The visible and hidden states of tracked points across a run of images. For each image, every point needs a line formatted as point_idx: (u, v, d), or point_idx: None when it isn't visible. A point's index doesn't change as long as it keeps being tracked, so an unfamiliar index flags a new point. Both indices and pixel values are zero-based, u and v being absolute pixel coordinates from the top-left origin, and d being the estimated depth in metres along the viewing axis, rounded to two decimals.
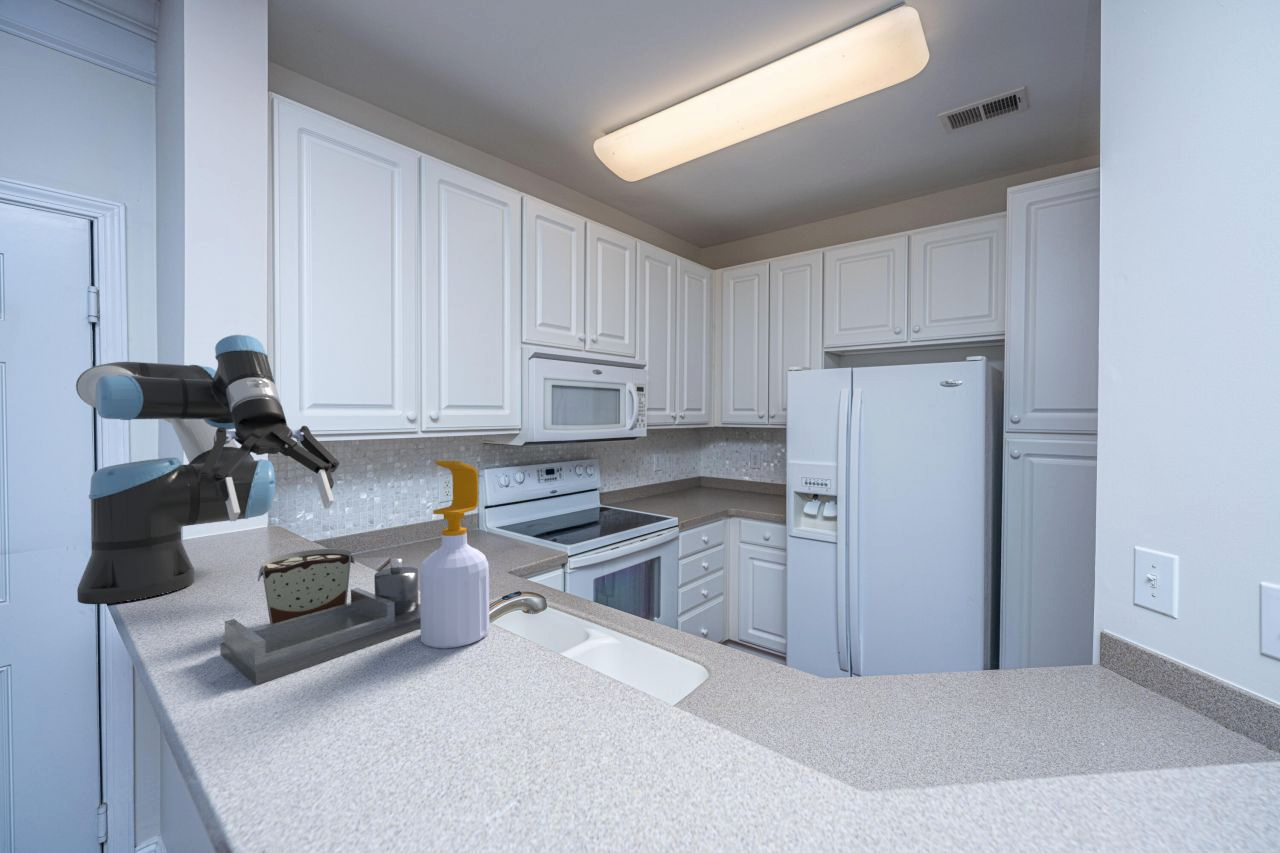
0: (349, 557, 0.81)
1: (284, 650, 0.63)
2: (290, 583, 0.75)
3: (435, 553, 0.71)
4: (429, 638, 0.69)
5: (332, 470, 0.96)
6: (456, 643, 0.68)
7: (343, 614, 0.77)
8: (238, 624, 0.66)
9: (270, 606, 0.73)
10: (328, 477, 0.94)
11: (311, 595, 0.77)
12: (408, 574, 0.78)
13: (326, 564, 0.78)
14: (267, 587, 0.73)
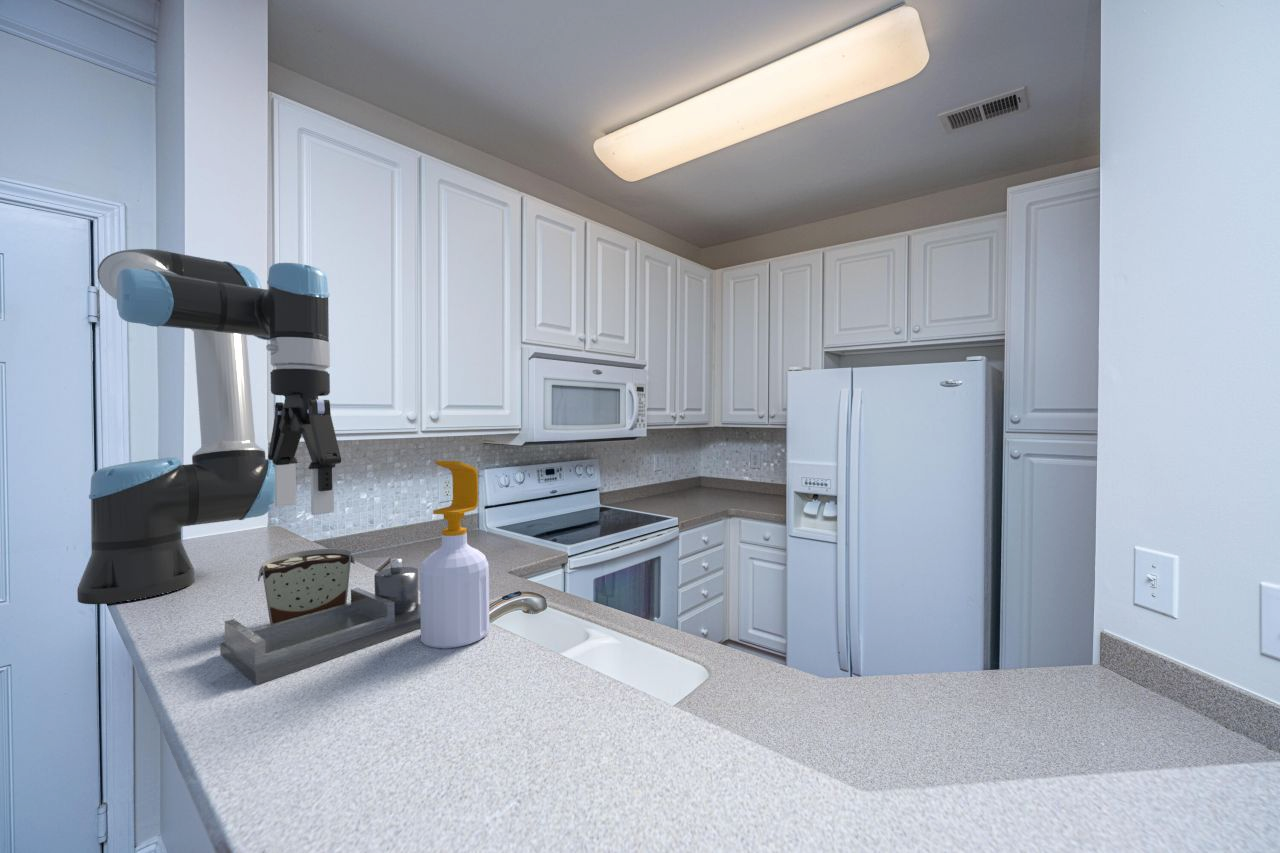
0: (349, 557, 0.81)
1: (284, 650, 0.63)
2: (290, 583, 0.75)
3: (435, 553, 0.71)
4: (429, 638, 0.69)
5: (330, 465, 0.73)
6: (456, 643, 0.68)
7: (343, 614, 0.77)
8: (238, 624, 0.66)
9: (270, 606, 0.73)
10: (319, 478, 0.74)
11: (311, 595, 0.77)
12: (408, 574, 0.78)
13: (326, 564, 0.78)
14: (267, 587, 0.73)
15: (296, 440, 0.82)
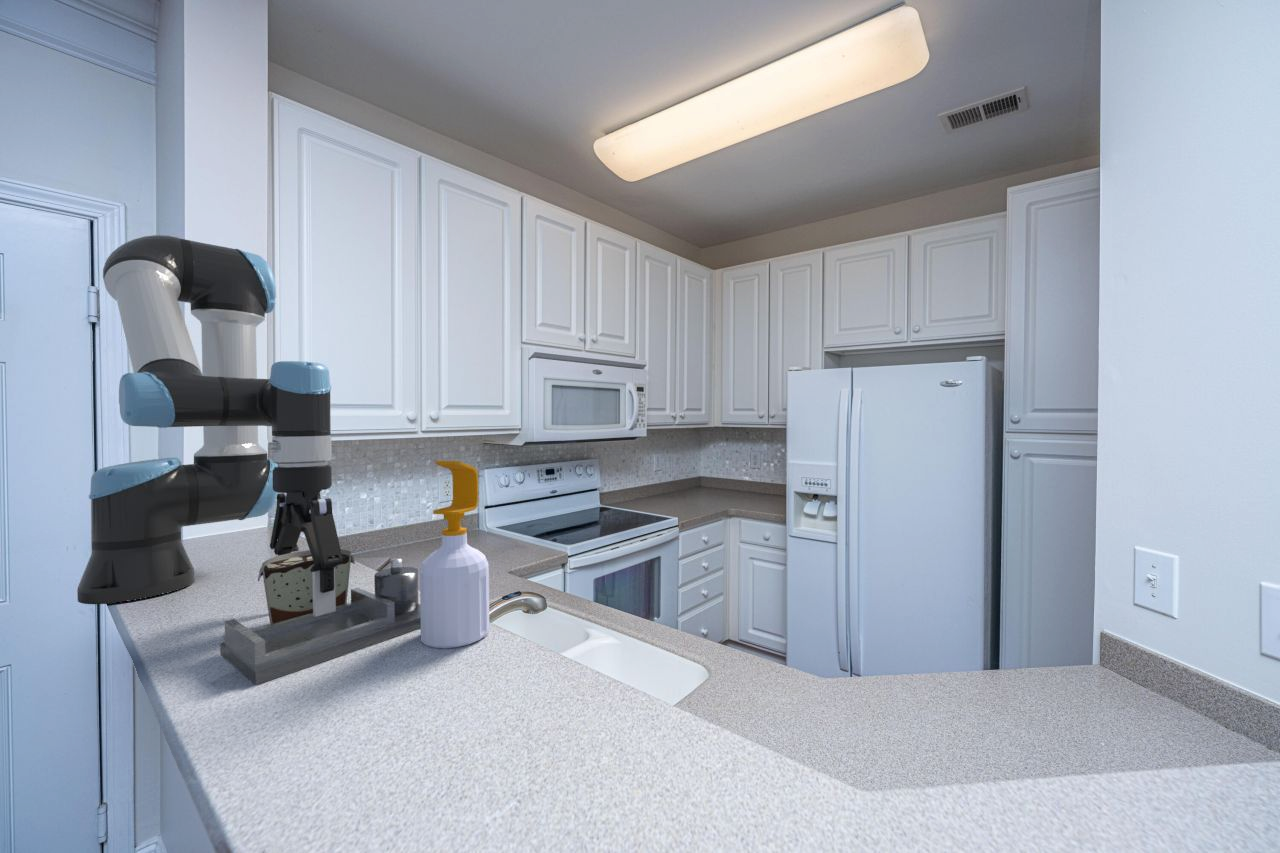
0: (349, 557, 0.81)
1: (284, 650, 0.63)
2: (290, 583, 0.75)
3: (435, 553, 0.71)
4: (429, 638, 0.69)
5: (332, 566, 0.74)
6: (456, 643, 0.68)
7: (343, 614, 0.77)
8: (238, 624, 0.66)
9: (270, 606, 0.73)
10: (321, 580, 0.74)
11: (311, 595, 0.77)
12: (408, 574, 0.78)
13: None
14: (267, 587, 0.73)
15: (298, 531, 0.82)
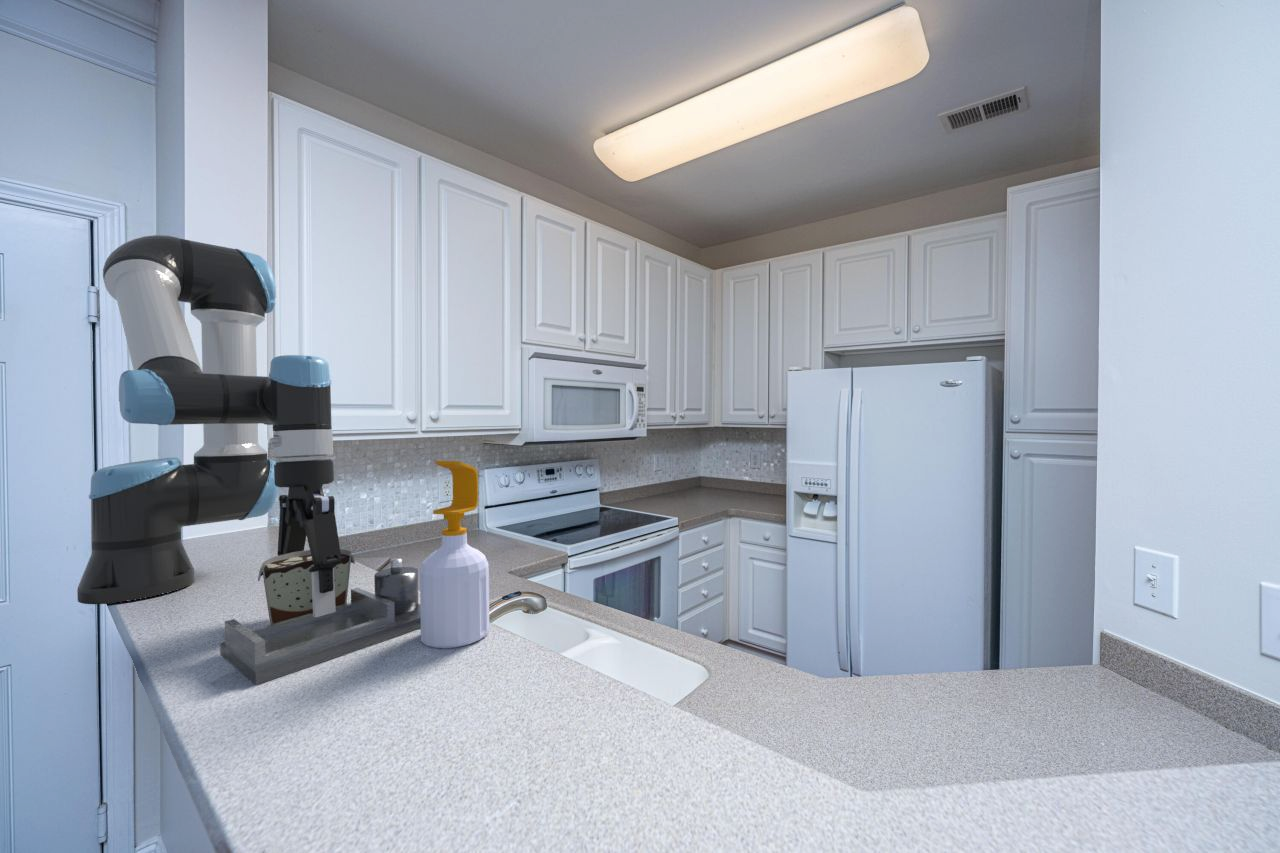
0: (349, 557, 0.81)
1: (284, 650, 0.63)
2: (290, 583, 0.75)
3: (435, 553, 0.71)
4: (429, 638, 0.69)
5: (330, 566, 0.74)
6: (456, 643, 0.68)
7: (343, 614, 0.77)
8: (238, 624, 0.66)
9: (270, 606, 0.73)
10: (320, 580, 0.74)
11: (311, 595, 0.77)
12: (408, 574, 0.78)
13: None
14: (267, 587, 0.73)
15: (304, 532, 0.81)
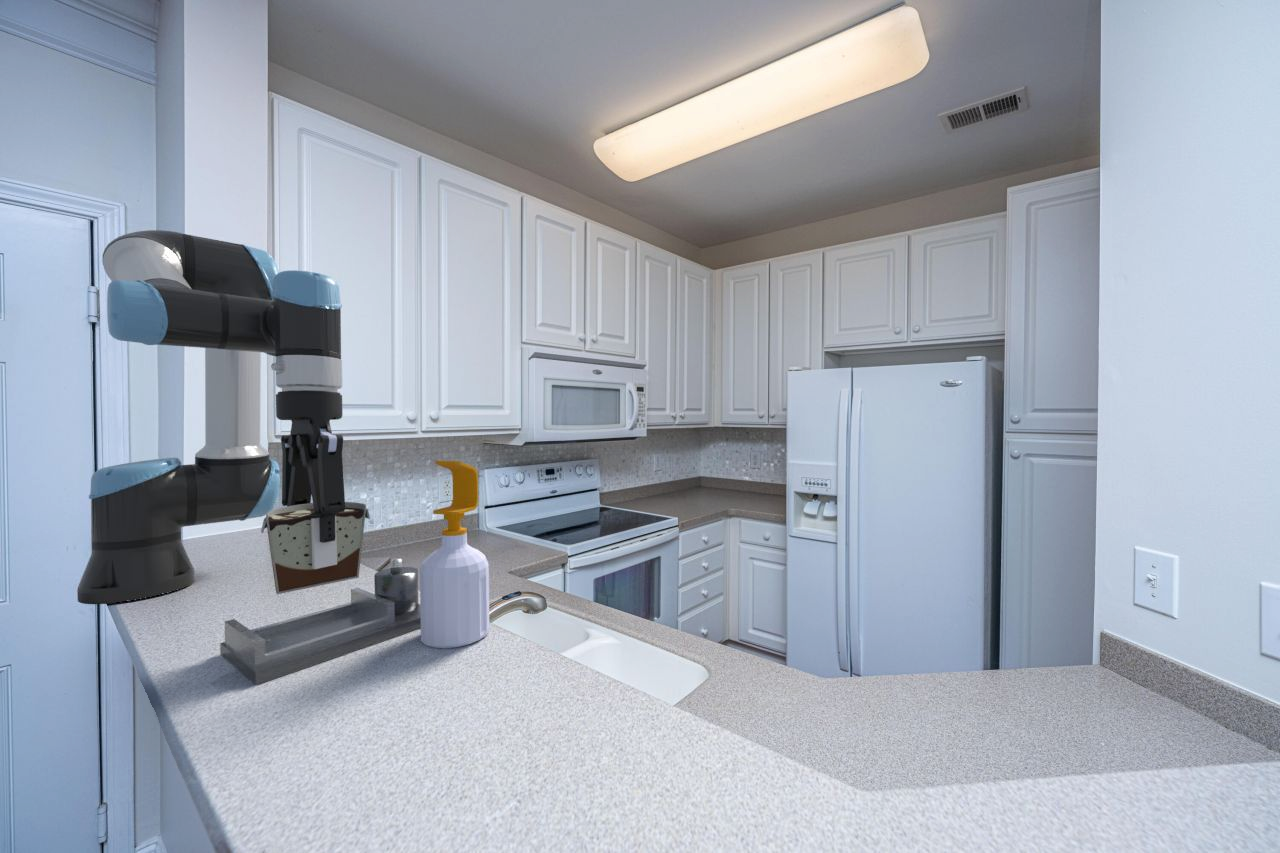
0: (363, 511, 0.72)
1: (284, 650, 0.63)
2: (298, 537, 0.66)
3: (435, 553, 0.71)
4: (429, 638, 0.69)
5: (333, 513, 0.66)
6: (456, 643, 0.68)
7: (343, 614, 0.77)
8: (238, 624, 0.66)
9: (275, 562, 0.64)
10: (321, 528, 0.66)
11: None
12: (408, 574, 0.78)
13: (338, 518, 0.69)
14: (272, 540, 0.64)
15: None
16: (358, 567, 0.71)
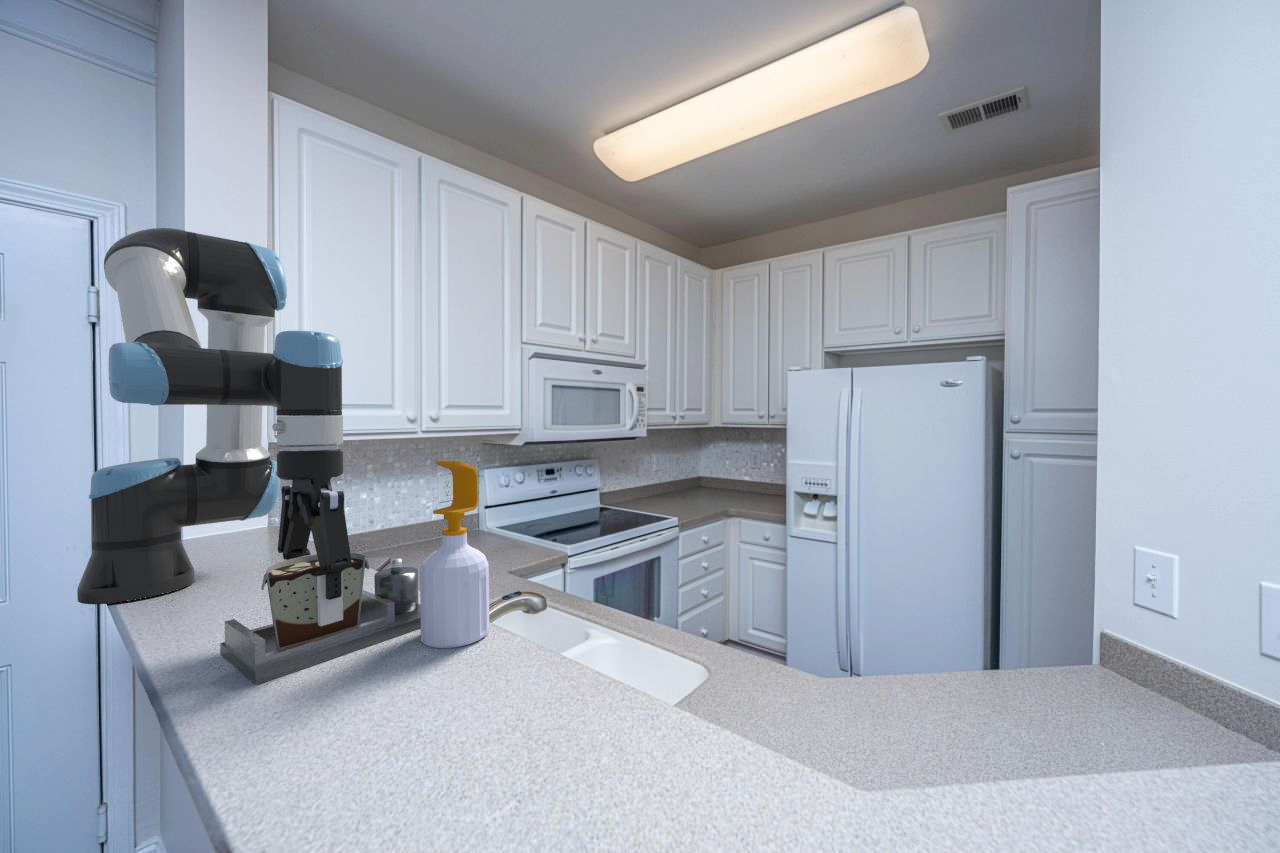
0: (363, 562, 0.72)
1: (284, 650, 0.63)
2: (298, 591, 0.67)
3: (435, 553, 0.71)
4: (429, 638, 0.69)
5: (339, 570, 0.65)
6: (456, 643, 0.68)
7: None
8: (238, 624, 0.66)
9: (275, 618, 0.65)
10: (327, 585, 0.66)
11: None
12: (408, 574, 0.78)
13: None
14: (272, 597, 0.65)
15: (307, 528, 0.72)
16: (358, 618, 0.72)
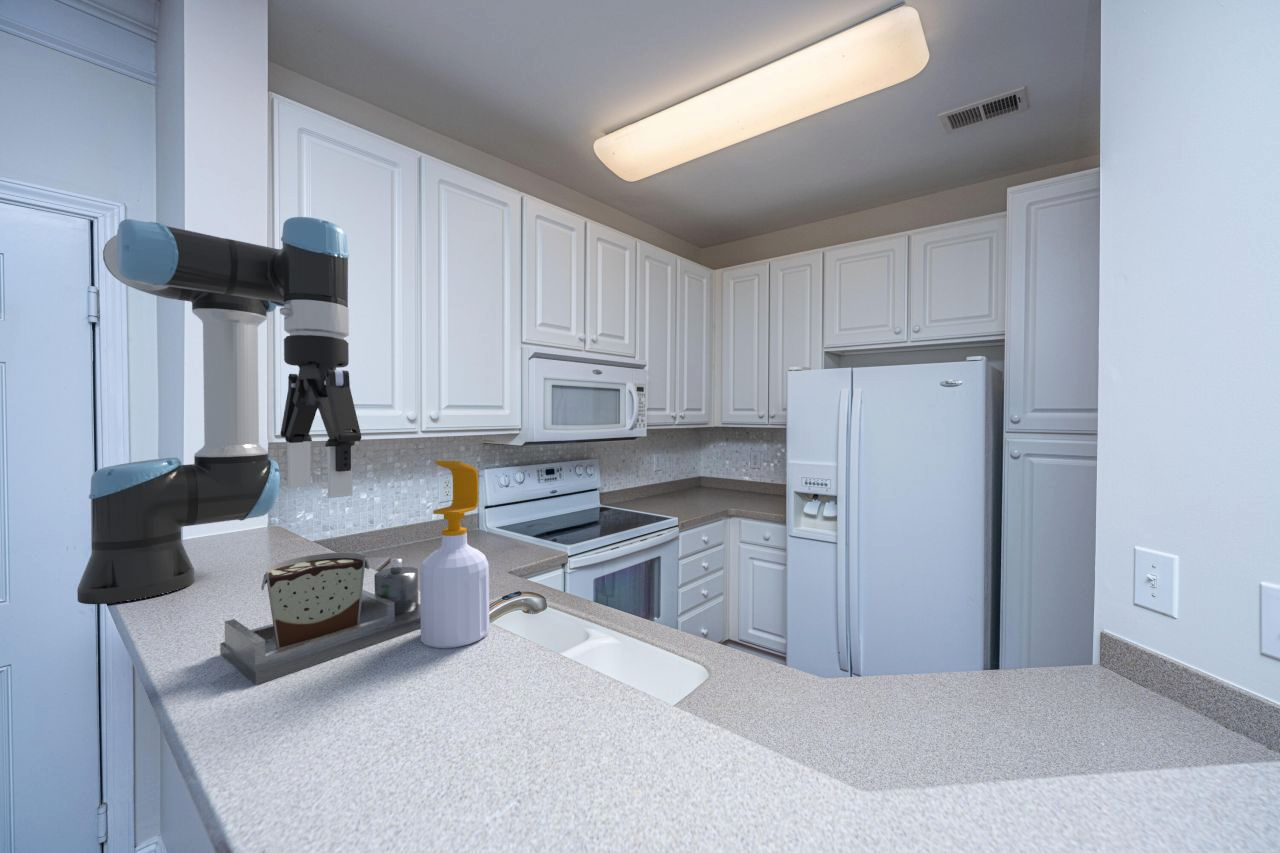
0: (363, 562, 0.72)
1: (284, 650, 0.63)
2: (298, 591, 0.67)
3: (435, 553, 0.71)
4: (429, 638, 0.69)
5: (349, 442, 0.66)
6: (456, 643, 0.68)
7: None
8: (238, 624, 0.66)
9: (275, 618, 0.65)
10: (337, 457, 0.66)
11: (321, 605, 0.68)
12: (408, 574, 0.78)
13: (337, 570, 0.70)
14: (272, 597, 0.65)
15: (311, 416, 0.75)
16: (358, 618, 0.72)
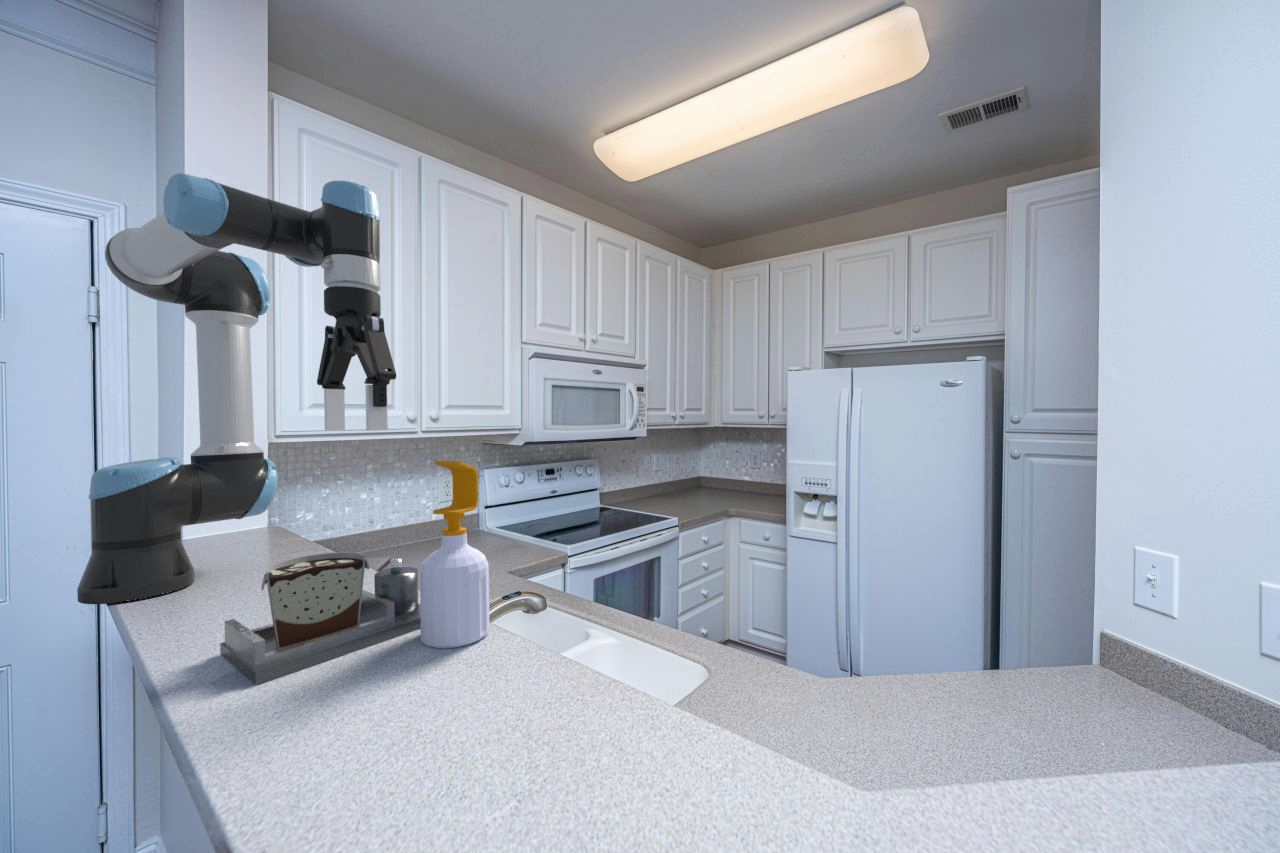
0: (363, 562, 0.72)
1: (284, 650, 0.63)
2: (298, 591, 0.67)
3: (435, 553, 0.71)
4: (429, 638, 0.69)
5: (385, 380, 0.74)
6: (456, 643, 0.68)
7: None
8: (238, 624, 0.66)
9: (275, 618, 0.65)
10: (374, 394, 0.74)
11: (321, 605, 0.68)
12: (408, 574, 0.78)
13: (337, 570, 0.70)
14: (272, 597, 0.65)
15: (346, 364, 0.82)
16: (358, 618, 0.72)
